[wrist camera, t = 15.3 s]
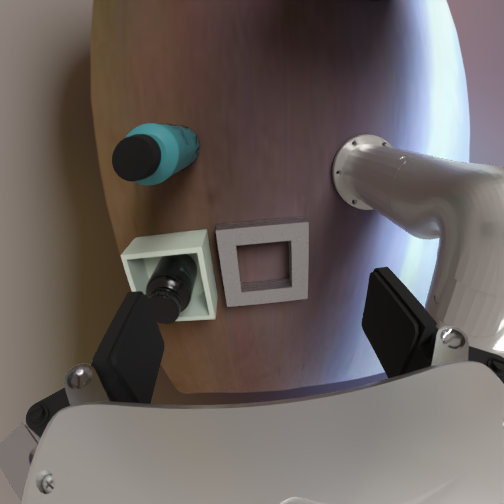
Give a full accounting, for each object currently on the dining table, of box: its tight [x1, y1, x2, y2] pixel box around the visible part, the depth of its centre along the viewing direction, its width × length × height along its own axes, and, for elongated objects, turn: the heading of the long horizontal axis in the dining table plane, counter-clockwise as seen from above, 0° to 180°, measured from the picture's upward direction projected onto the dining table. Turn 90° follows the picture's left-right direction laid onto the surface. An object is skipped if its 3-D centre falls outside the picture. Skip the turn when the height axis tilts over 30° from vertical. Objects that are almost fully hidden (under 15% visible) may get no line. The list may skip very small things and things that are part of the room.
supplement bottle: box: [146, 254, 197, 324], centre depth 40 cm, size 7×7×12 cm
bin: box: [121, 229, 218, 322], centre depth 43 cm, size 13×13×7 cm
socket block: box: [216, 216, 309, 307], centre depth 45 cm, size 14×14×3 cm
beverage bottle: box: [112, 123, 200, 185], centre depth 28 cm, size 6×7×20 cm
